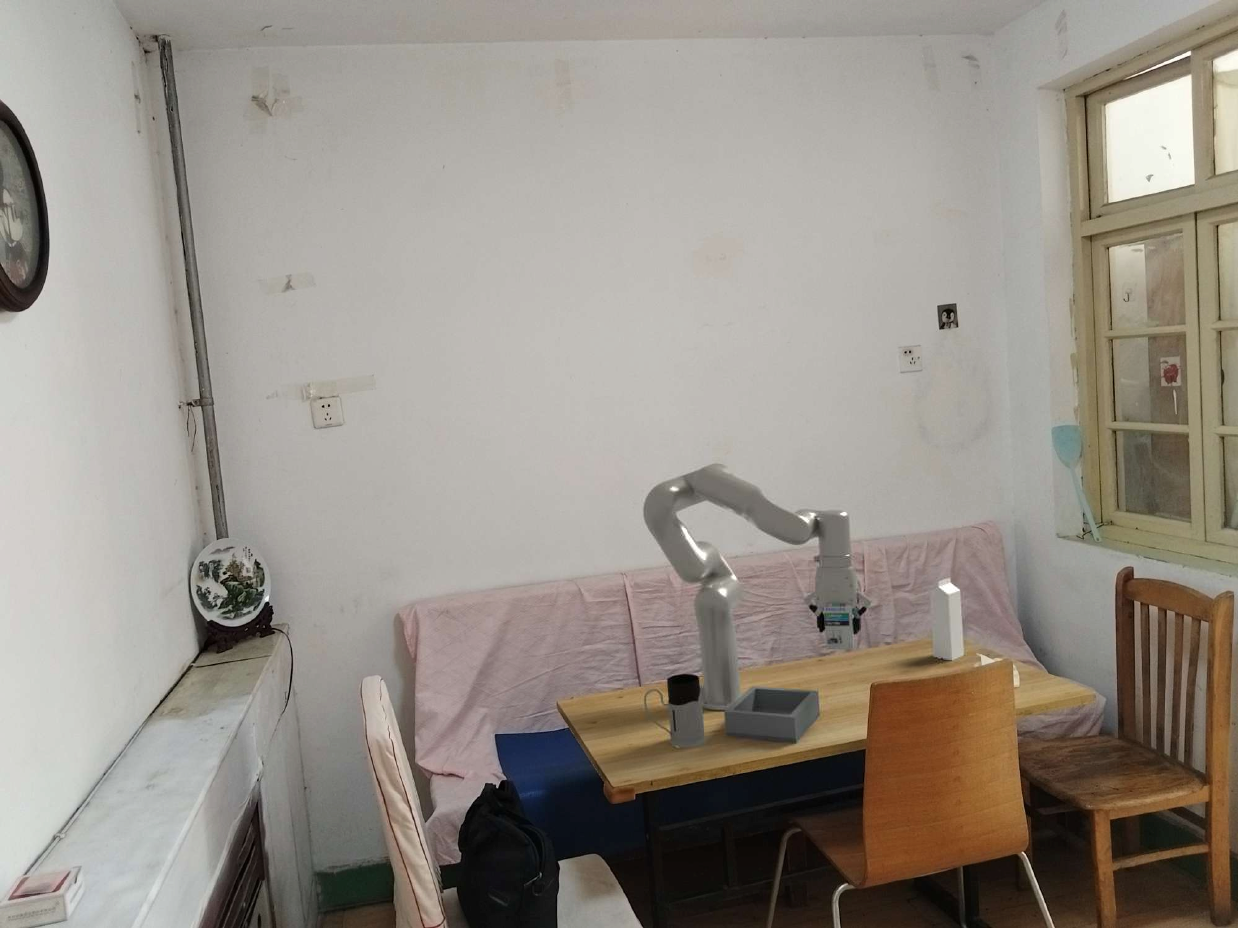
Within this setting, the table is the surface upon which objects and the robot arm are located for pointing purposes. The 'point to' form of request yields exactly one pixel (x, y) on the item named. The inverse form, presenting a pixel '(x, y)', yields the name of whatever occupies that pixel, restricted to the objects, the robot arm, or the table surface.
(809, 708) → the box
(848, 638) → the light bulb box
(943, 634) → the milk
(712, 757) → the table surface
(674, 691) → the glass holder
